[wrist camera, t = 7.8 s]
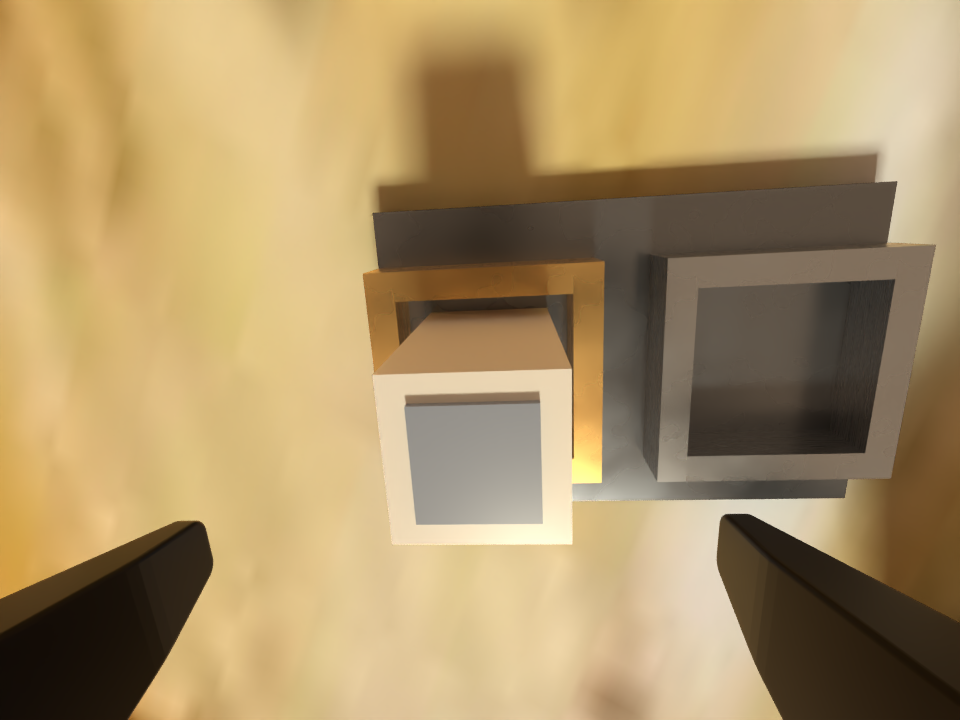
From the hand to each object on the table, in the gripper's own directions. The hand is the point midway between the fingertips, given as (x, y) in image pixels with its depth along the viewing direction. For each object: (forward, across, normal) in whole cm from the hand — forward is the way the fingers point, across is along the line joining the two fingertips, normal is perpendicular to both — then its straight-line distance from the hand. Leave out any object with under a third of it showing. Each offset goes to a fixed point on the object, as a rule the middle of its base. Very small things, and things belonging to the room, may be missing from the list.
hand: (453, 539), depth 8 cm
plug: (+11, 0, 0) cm, 11 cm away
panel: (+12, -5, 0) cm, 13 cm away
